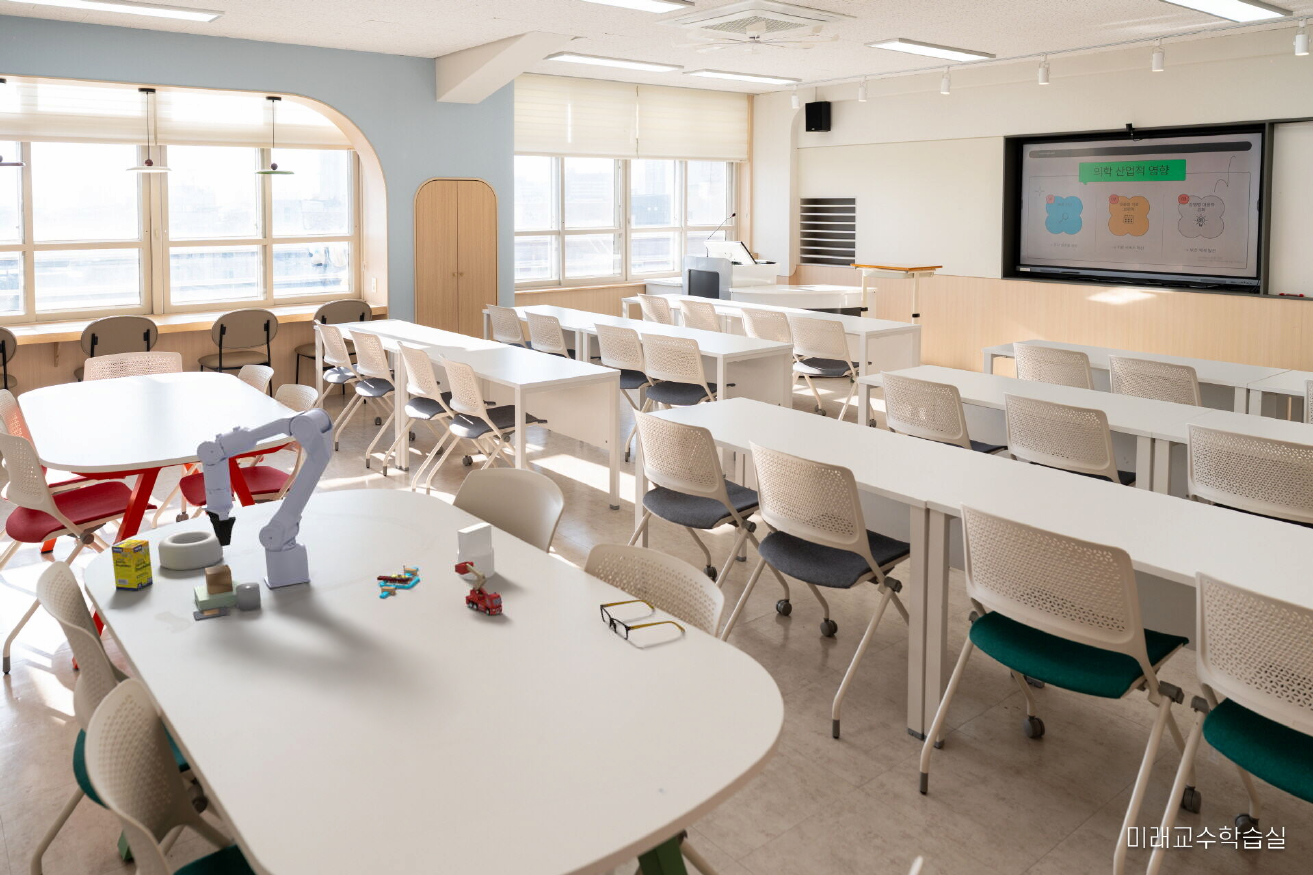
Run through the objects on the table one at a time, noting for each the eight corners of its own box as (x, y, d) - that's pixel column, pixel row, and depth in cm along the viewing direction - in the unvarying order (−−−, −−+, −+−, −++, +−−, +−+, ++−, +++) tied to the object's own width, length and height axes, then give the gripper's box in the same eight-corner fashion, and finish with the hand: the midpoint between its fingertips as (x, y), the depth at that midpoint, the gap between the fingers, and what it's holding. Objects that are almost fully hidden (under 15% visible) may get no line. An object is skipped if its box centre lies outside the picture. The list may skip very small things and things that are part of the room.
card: (226, 607, 237) (226, 605, 237) (229, 614, 233) (229, 612, 233) (193, 612, 234) (193, 611, 234) (195, 620, 229) (195, 618, 229)
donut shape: (147, 570, 262) (144, 544, 261) (183, 551, 277) (180, 527, 275) (201, 573, 260) (199, 547, 258) (235, 554, 274) (232, 530, 273)
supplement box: (137, 591, 247) (132, 547, 245) (115, 589, 248) (110, 546, 246) (154, 582, 253) (149, 540, 250) (132, 581, 254) (127, 538, 251)
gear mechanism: (360, 598, 244) (398, 601, 242) (359, 576, 242) (396, 579, 241) (395, 570, 263) (430, 572, 261) (394, 549, 262) (429, 551, 260)
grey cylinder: (260, 601, 240) (259, 581, 239) (261, 609, 236) (259, 588, 235) (237, 604, 239) (235, 584, 237) (237, 612, 234) (235, 591, 233)
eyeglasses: (596, 621, 230) (596, 604, 229) (654, 609, 236) (654, 593, 235) (624, 644, 217) (624, 626, 216) (684, 631, 224) (684, 614, 223)
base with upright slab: (476, 565, 265) (474, 520, 262) (502, 572, 260) (500, 526, 257) (450, 574, 258) (448, 528, 255) (476, 582, 253) (474, 535, 250)
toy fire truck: (492, 617, 231) (491, 576, 229) (455, 601, 240) (454, 562, 238) (504, 613, 233) (503, 572, 231) (467, 598, 242) (465, 558, 240)
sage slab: (240, 591, 248) (239, 579, 248) (247, 604, 240) (246, 592, 239) (195, 599, 243) (193, 587, 243) (200, 613, 235) (199, 600, 234)
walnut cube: (229, 584, 245) (227, 564, 243) (232, 591, 240) (230, 570, 239) (206, 588, 242) (204, 568, 241) (209, 595, 238) (207, 574, 237)
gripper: (196, 482, 254) (201, 535, 257) (203, 496, 242) (208, 551, 245) (227, 478, 257) (232, 531, 260) (235, 492, 245) (240, 547, 248)
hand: (223, 541), depth 253 cm, fingers open, 7 cm apart
